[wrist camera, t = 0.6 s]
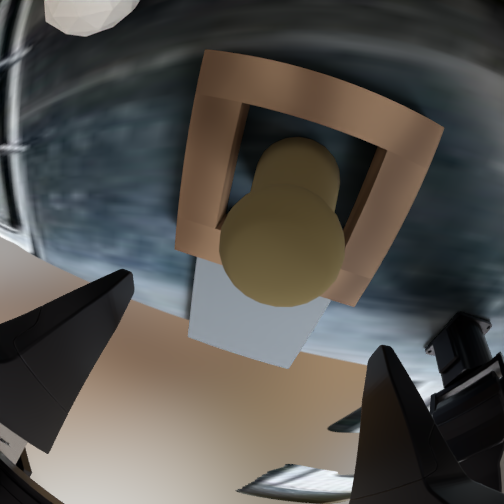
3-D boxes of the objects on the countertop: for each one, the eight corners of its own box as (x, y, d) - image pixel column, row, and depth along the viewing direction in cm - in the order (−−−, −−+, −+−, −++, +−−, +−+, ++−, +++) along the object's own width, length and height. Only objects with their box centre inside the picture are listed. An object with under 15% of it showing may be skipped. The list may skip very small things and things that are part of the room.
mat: (332, 290, 24) (332, 297, 23) (289, 362, 31) (288, 369, 30) (201, 248, 24) (197, 254, 23) (191, 330, 31) (188, 336, 30)
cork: (239, 166, 20) (167, 245, 11) (309, 120, 17) (302, 158, 8) (286, 229, 22) (258, 342, 13) (355, 193, 19) (383, 298, 10)
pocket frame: (429, 122, 14) (444, 127, 12) (352, 286, 23) (354, 306, 21) (218, 53, 15) (205, 49, 13) (186, 233, 24) (174, 249, 22)
